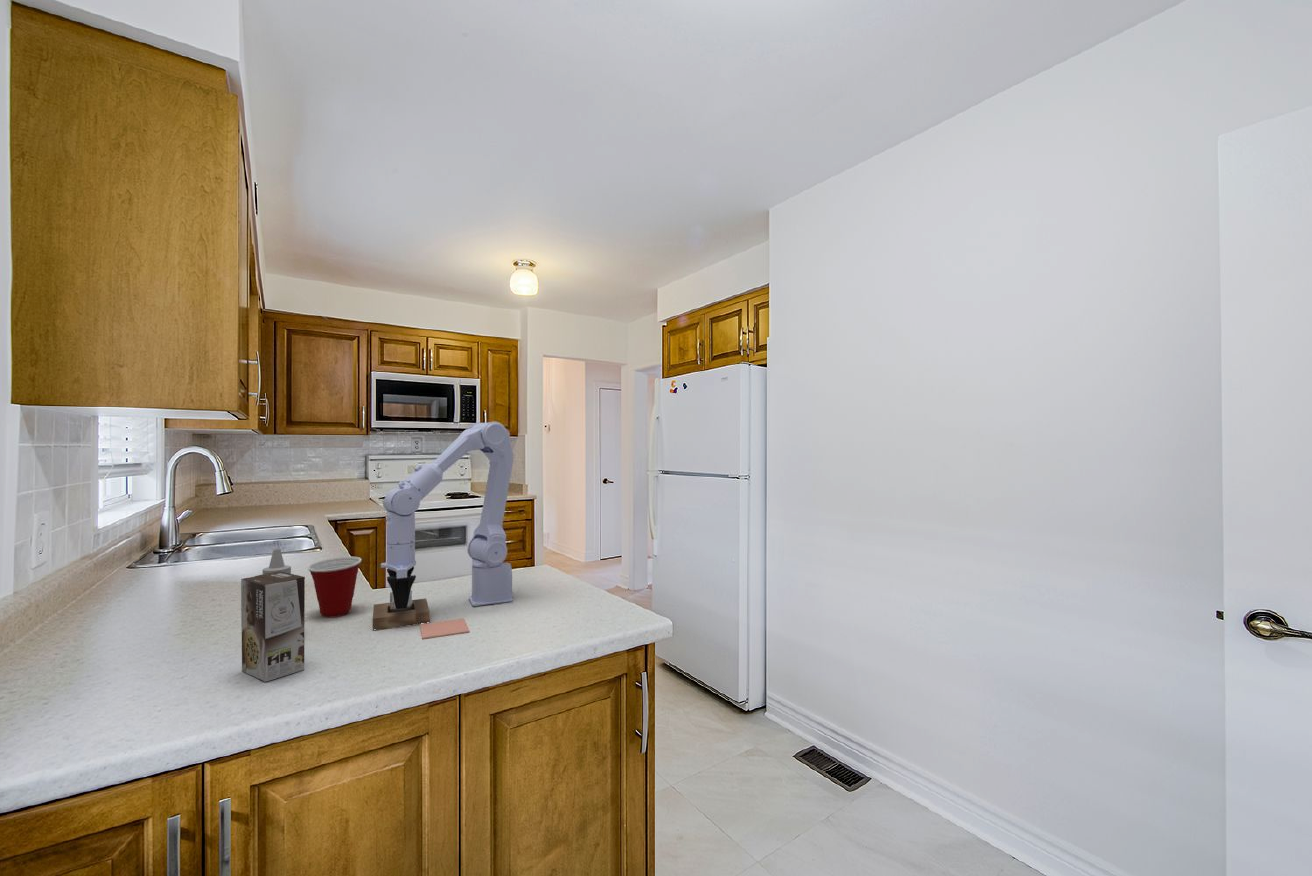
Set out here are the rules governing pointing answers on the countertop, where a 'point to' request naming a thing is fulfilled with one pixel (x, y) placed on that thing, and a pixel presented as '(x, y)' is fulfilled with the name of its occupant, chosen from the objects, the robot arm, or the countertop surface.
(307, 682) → the countertop surface
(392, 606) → the metal plug
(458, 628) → the rubber mat
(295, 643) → the coffee box
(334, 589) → the plastic cup
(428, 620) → the socket block
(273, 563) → the squeeze bottle
